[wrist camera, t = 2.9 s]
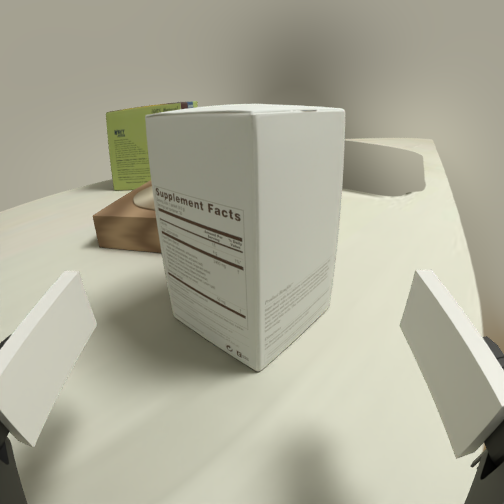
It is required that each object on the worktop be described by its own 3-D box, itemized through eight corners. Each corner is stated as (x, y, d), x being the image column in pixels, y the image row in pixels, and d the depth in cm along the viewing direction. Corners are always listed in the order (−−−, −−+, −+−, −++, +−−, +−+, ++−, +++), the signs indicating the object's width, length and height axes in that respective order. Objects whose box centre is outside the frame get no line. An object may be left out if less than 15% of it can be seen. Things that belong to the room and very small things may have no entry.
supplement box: (247, 270, 30) (244, 103, 23) (331, 307, 24) (350, 108, 17) (168, 316, 24) (140, 112, 17) (256, 377, 18) (254, 106, 11)
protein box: (187, 189, 55) (181, 102, 47) (113, 191, 56) (104, 112, 49) (202, 174, 64) (198, 100, 56) (136, 177, 65) (129, 108, 58)
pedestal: (99, 247, 35) (92, 213, 33) (157, 202, 48) (154, 175, 46) (227, 258, 32) (225, 218, 30) (257, 205, 46) (256, 176, 44)
